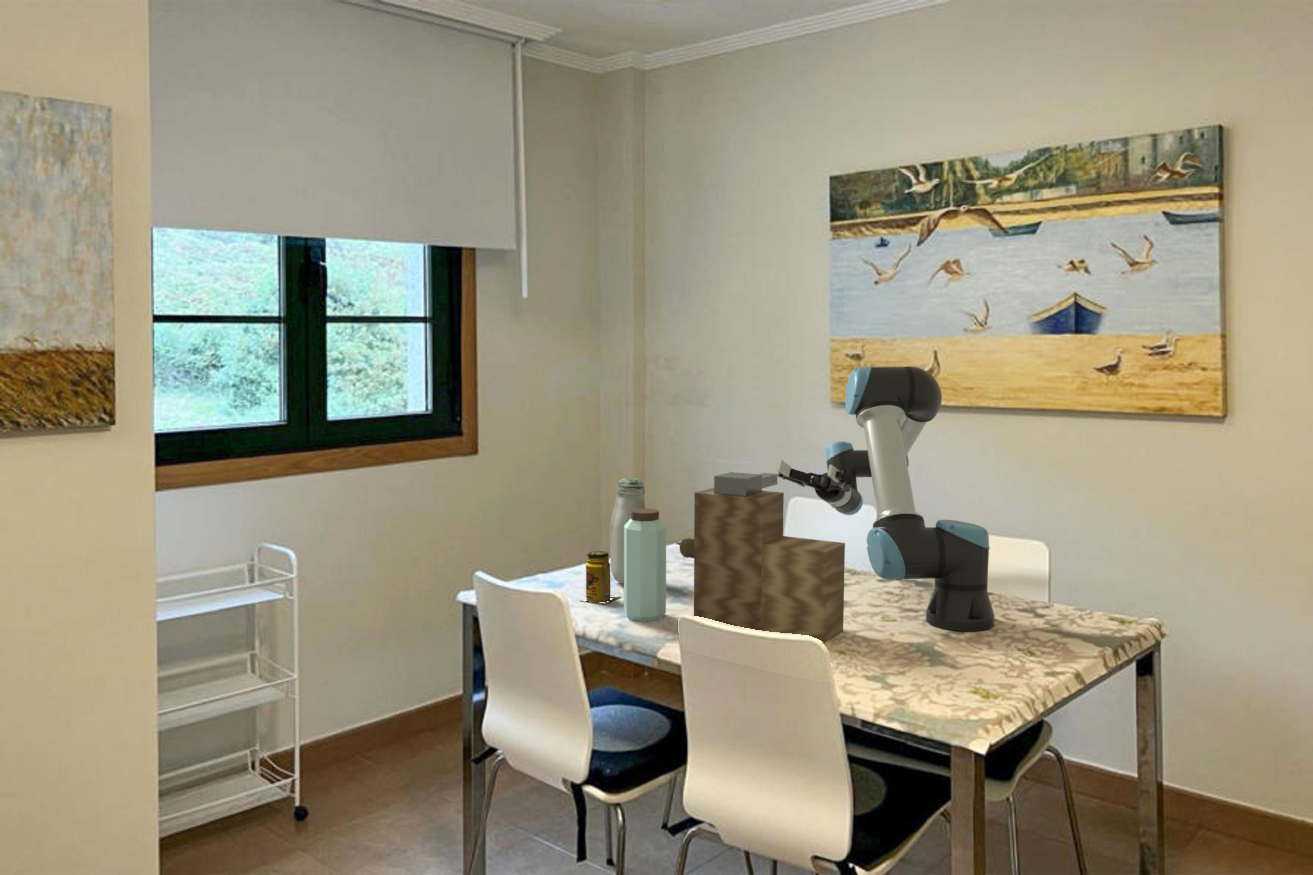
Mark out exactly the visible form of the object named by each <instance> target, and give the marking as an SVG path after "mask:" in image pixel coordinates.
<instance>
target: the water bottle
mask: <svg viewBox="0 0 1313 875" xmlns="http://www.w3.org/2000/svg"><path fill="white" fill-rule="evenodd" d="M659 518H660V511H659V510H658V509H656V508H646V509H635V510H631V518H630V520H629V521H628V522H627V523H626V524H625V525H624V583H623V611H624V612H625V615H626V616H627V618H628V619H629V620H631V619H632V620H631V621H636V620H637V621H636V622H654V620H655V621H657V620H660V619H662V618H664V616H665V615H666V613H667V527H666V526H665V525H664V523H663V522H662V521H661V520H660V519H659Z"/></svg>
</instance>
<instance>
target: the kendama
mask: <svg viewBox="0 0 1313 875" xmlns="http://www.w3.org/2000/svg"><path fill="white" fill-rule="evenodd" d="M675 544H676V545H679V551H680V554H681V555H682V556H683V557H684V558H688V557H693V558H694V538H692V537H684V538H682V539H681V541H680V542H677V541H676V543H675Z"/></svg>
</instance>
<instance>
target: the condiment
mask: <svg viewBox="0 0 1313 875" xmlns="http://www.w3.org/2000/svg"><path fill="white" fill-rule="evenodd" d="M609 556H610V554H609V552H607V551H604V550H593V551H592V550H591V551H589V552H588V553H587V556H586V561H587V562H586V565H585V598H587V599H586V600H587V601H589V602H595V603H594V604H600V605H606V604H609V603H608V602H607V601H611V602H614V601H615V600H617V599H619V598H621V597H622V595H617V596H618V597H610V596H612V595H611V562H610V558H609ZM610 598H613V599H612V600H610ZM580 602H585V603H587V602H586V601H583V599H581V600H580ZM589 602H588V603H589ZM599 602H605V603H599Z"/></svg>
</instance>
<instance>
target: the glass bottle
mask: <svg viewBox="0 0 1313 875" xmlns="http://www.w3.org/2000/svg"><path fill="white" fill-rule="evenodd" d="M615 492H616V499H615V502H614V508H613V511H612V514H611V520H610V522H609V523H610V524H609V526H610V530H609V532H610V539H609V540H610V542H609V543H610V573H611V575H612V576H613V578H614V580H615V581H617V582H618V583H620V584H624V525H625V524H626V523H627V522H628V521H629V520H630V518H631V510H635V509H647V508H646V505H645V486H644V483H643V481H642V480H641V479H639V478H638V477H624V478H622V479H620V480H619V481H618V482H617V484H616V491H615Z"/></svg>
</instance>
